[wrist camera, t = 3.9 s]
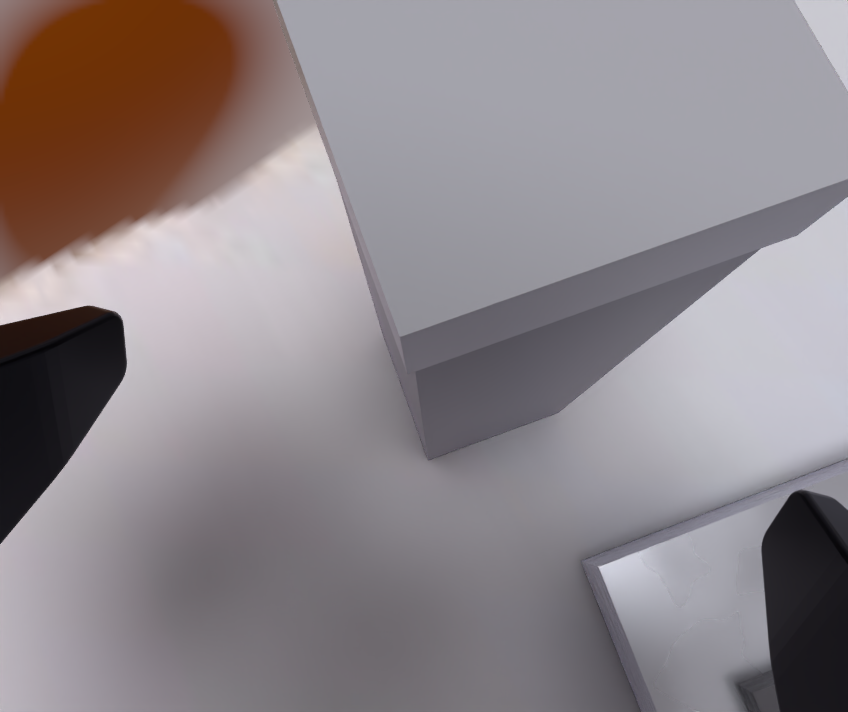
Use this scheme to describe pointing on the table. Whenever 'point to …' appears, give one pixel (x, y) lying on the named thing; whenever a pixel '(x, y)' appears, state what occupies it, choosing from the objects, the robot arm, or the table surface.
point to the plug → (559, 177)
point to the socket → (699, 604)
